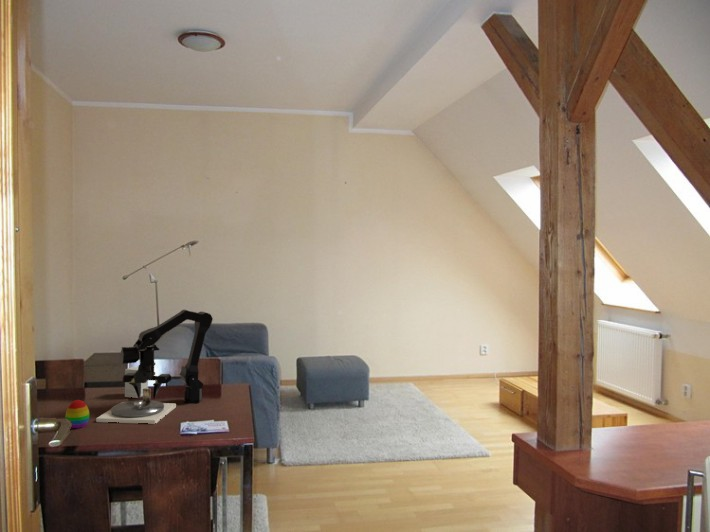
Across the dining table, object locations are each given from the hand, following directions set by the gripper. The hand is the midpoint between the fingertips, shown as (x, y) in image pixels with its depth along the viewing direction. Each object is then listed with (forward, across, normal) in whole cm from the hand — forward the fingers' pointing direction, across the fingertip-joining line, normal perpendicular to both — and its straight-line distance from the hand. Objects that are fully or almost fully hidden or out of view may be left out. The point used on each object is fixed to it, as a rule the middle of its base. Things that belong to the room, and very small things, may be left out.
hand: (146, 398), depth 244 cm
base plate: (+4, 0, -9) cm, 10 cm away
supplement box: (+4, -12, +18) cm, 22 cm away
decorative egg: (+4, -16, -26) cm, 31 cm away
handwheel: (+2, 0, -9) cm, 9 cm away
